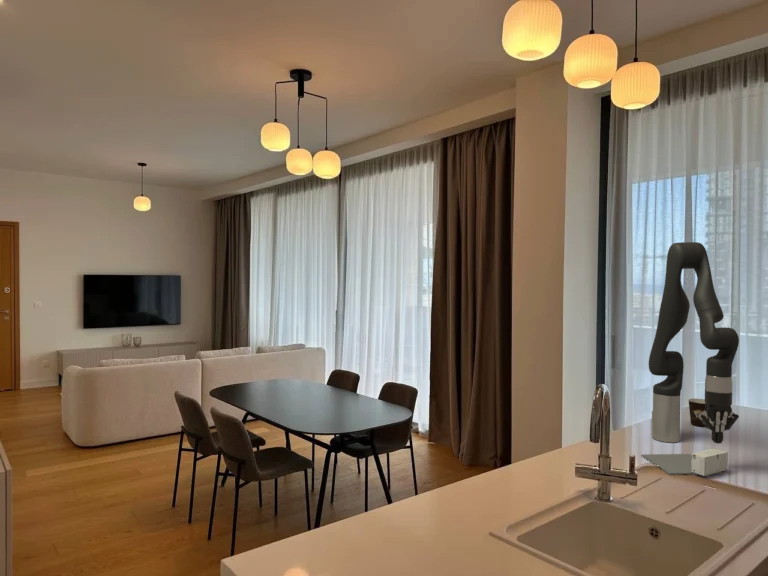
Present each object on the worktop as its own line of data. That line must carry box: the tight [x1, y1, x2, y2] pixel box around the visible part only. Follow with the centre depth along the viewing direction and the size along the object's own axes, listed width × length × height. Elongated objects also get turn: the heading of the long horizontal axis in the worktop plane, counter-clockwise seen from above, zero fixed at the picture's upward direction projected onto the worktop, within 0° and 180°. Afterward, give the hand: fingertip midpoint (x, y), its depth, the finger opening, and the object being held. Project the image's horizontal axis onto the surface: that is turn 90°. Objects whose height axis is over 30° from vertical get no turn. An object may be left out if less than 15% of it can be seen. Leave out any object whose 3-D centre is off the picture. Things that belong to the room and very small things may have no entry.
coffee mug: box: [688, 397, 709, 428], centre depth 221 cm, size 12×9×10 cm
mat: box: [640, 453, 723, 476], centre depth 178 cm, size 17×17×1 cm
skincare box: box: [691, 447, 729, 477], centre depth 170 cm, size 6×4×12 cm
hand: (717, 442), depth 175 cm, fingers closed
